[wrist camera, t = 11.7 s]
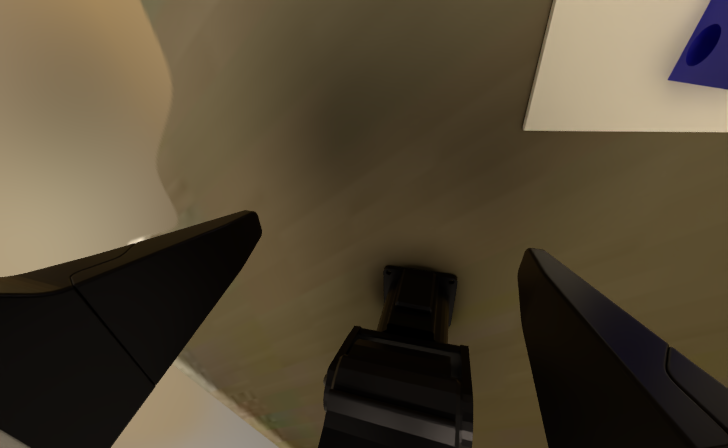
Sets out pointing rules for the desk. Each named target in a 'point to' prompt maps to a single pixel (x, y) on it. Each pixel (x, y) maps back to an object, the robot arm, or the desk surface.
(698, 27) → the cable clip
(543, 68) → the desk mat
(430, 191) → the desk surface
